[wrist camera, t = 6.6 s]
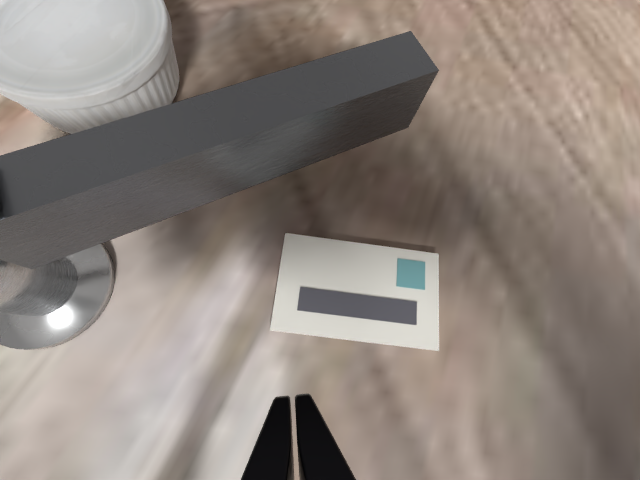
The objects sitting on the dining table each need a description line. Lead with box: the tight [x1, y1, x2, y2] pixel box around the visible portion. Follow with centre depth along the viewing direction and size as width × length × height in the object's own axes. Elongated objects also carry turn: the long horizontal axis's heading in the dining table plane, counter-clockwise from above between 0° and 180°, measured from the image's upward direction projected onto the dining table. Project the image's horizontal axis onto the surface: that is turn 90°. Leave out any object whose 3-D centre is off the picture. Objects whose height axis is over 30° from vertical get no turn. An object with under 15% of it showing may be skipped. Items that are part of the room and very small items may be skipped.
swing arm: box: [0, 31, 439, 269], centre depth 14 cm, size 24×4×5 cm, turn 116°
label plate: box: [270, 233, 439, 351], centre depth 20 cm, size 10×6×1 cm, turn 83°
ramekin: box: [0, 0, 179, 134], centre depth 21 cm, size 11×11×5 cm
